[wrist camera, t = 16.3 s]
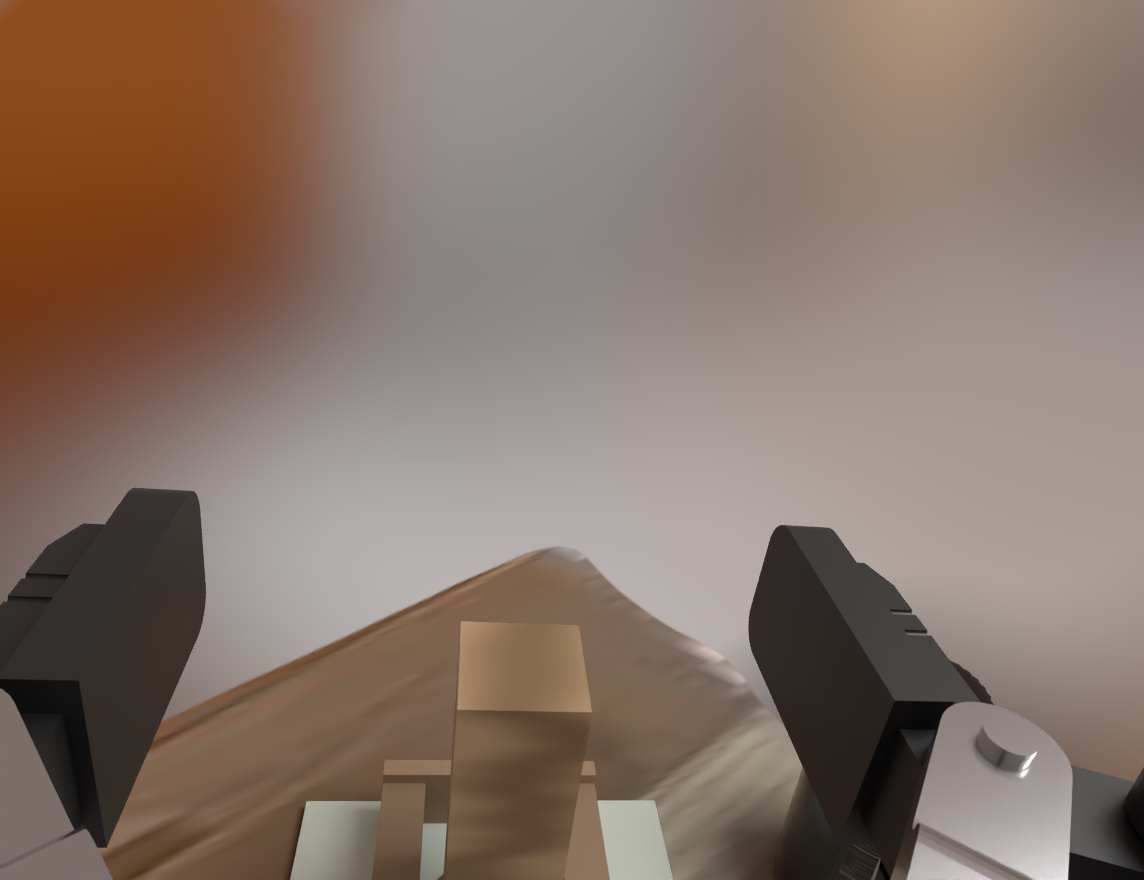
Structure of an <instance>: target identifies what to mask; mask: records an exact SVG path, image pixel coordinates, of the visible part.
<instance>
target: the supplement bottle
mask: <svg viewBox="0 0 1144 880" xmlns="http://www.w3.org/2000/svg"><path fill="white" fill-rule="evenodd" d="M950 662H951V663H952V664H953V666H954V667H955V669H956V670H957V671H958V673H959V674H960V675H961V677H962V678H963V679H964V681H965V682H966V683H967V685H968V686H969V687H970V689H971V690H972V691H973V693H974V694H975V695H976V697H977V698H978V699H979V701H980V702H981V703H986V704H991V705H994V704H993V703H992V701H991V696H990V695H989V694H988V693H987V692H986V689H985V687H984V686H982V685H981V684H980V683H979V681H978V679H976V678H975V677H973V676H972V675H971V674H970V672H968V671H967V670H965V669H963V668H962V667H961V666H960V665H958V664H956V663H954V662H952V661H950ZM879 859H880V857H879V855H878V853H877V850H876V848H875V846H874V844H852V845H837V842H836V840H835V838H834V836H833V833H832V831H831V829H830V827H829V824H828V822H827V820H826V818H825V815H824V813H823V811H822V809H821V806H820V804H819V802H818V800H817V797H816V795H815V793H814V791H813V788H812V786H811V784H810V782H809V779H808V777H807V775H806V773H805V770H804V768H802V771H801V774H800V777H799V780H798V783H797V786H796V789H795V792H794V795H793V798H792V801H791V804H790V807H789V810H788V813H787V816H786V819H785V822H784V826H783V829H782V832H781V835H780V839H779V842H778V846H777V850H776V857H775V867H776V875H777V880H871V878H872V875H873V873H874V871H875V869H876V866H877V864H878V862H879Z"/></svg>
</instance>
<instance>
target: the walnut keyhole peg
mask: <svg viewBox="0 0 1144 880" xmlns="http://www.w3.org/2000/svg"><path fill="white" fill-rule="evenodd" d="M591 714H592V710H591V704H590V697H589V690H588V683H587V677H586V670H585V663H584V657H583V650H582V643H581V636H580V630H579V625H553V624H523V623H492V622H461V629H460V644H459V658H458V672H457V686H456V701H455V715H454V729H453V744H452V758H451V772H450V787H449V801H448V815H447V830H446V844H445V858H444V873H443V875H441V876H440V877H439V878H438V879H437V880H564V875H565V869H566V863H567V857H568V851H569V845H570V839H571V833H572V827H573V821H574V815H575V809H576V803H577V797H578V792H579V786H580V780H581V774H582V768H583V762H584V756H585V750H586V744H587V738H588V732H589V726H590V720H591Z"/></svg>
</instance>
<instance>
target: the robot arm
mask: <svg viewBox="0 0 1144 880" xmlns="http://www.w3.org/2000/svg"><path fill="white" fill-rule="evenodd" d="M205 599H206V583H205V570H204V557H203V544H202V529H201V517H200V505H199V500H198V497H197V495H196V493H195V492H194V491H181V490H180V491H179V490H163V489H162V490H161V489H144V488H132V489H131V490H129V492H128V493H127V494H126V496H125V497H124V498H123V500H122V501H121V503H120V504H119V505H118V507H117V508H116V510H115V511H114V512H113V514H112V515H111V517H110V518H109V519H108V521H107V522H106V524H105V525H101V524H82V525H80V526H79V527H77V528H75V529H74V530H72V531H71V532H69V533H68V534H66V535H64V536H63V537H61V538H59V539H58V540H56V541H54V542H53V543H51V544H50V545H48V546H47V547H46V548H45V550H44V551H43V552H42V553H41V555H40V556H39V557H38V558H37V560H36V561H35V562H34V563H33V565H32V566H31V567H30V569H29V570H28V571H27V572H26V577H25V579H21V580H20V581H19V582H18V584H17V585H16V586H15V588H14V589H13V590H12V591H11V593H10V594H9V595H8V601H7V602H3V603H2V604H1V605H0V880H113V879H112V877H111V875H110V873H109V871H108V869H107V867H106V865H105V863H104V861H103V859H102V856H101V854H100V852H99V850H98V848H107V845H108V843H109V841H110V838H111V836H112V834H113V831H114V829H115V827H116V824H117V822H118V820H119V818H120V815H121V813H122V811H123V808H124V806H125V804H126V801H127V799H128V797H129V794H130V792H131V790H132V787H133V785H134V783H135V781H136V778H137V776H138V774H139V771H140V769H141V767H142V764H143V762H144V760H145V757H146V755H147V753H148V751H149V748H150V746H151V744H152V741H153V739H154V737H155V734H156V732H157V730H158V727H159V725H160V723H161V720H162V718H163V716H164V714H165V711H166V709H167V707H168V704H169V702H170V700H171V697H172V695H173V693H174V690H175V688H176V686H177V684H178V681H179V679H180V677H181V674H182V672H183V670H184V667H185V665H186V663H187V661H188V658H189V656H190V654H191V651H192V649H193V646H194V644H195V642H196V640H197V637H198V635H199V632H200V629H201V625H202V621H203V616H204V610H205ZM749 640H750V646H751V650H752V653H753V655H754V658H755V660H756V662H757V664H758V667H759V669H760V671H761V673H762V676H763V678H764V680H765V682H766V685H767V687H768V689H769V691H770V694H771V696H772V698H773V701H774V703H775V705H776V707H777V710H778V712H779V714H780V716H781V718H782V721H783V723H784V725H785V728H786V730H787V732H788V734H789V737H790V739H791V741H792V743H793V746H794V748H795V750H796V752H797V755H798V757H799V759H800V761H801V764H802V766H803V768H804V770H805V773H806V775H807V777H808V779H809V782H810V784H811V786H812V788H813V791H814V793H815V795H816V797H817V800H818V802H819V804H820V806H821V809H822V811H823V813H824V815H825V818H826V820H827V822H828V824H829V827H830V829H831V831H832V833H833V836H834V838H835V840H836V842H837V845H852V844H874V846H875V848H876V850H877V853H878V855H879V857H880V859H879V862H878V864H877V866H876V869H875V871H874V873H873V875H872V878H871V880H1144V768H1143V769H1142V771H1141V773H1140V775H1139V776H1138V778H1137V780H1136V781H1135V782H1132V781H1128V780H1125V779H1121V778H1117V777H1113V776H1109V775H1106V774H1102V773H1098V772H1094V771H1090V770H1087V769H1083V768H1079V767H1075V766H1072V765H1070V763H1069V760H1068V759H1067V757H1066V755H1065V753H1064V752H1063V751H1062V749H1061V748H1060V747H1059V745H1058V744H1057V743H1056V742H1055V741H1054V740H1053V739H1052V738H1051V737H1050V736H1049V735H1048V734H1046V733H1045V732H1044V731H1043V730H1042V729H1040V728H1039V727H1037V726H1036V725H1034V724H1033V723H1032V722H1030V721H1028V720H1027V719H1025V718H1023V717H1022V716H1020V715H1017V714H1016V713H1013V712H1011V711H1009V710H1006V709H1003V708H1001V707H998V706H995V705H991V704H986V703H981V702H980V701H979V699H978V698H977V697H976V695H975V694H974V693H973V691H972V690H971V689H970V687H969V686H968V685H967V683H966V682H965V681H964V679H963V678H962V677H961V675H960V674H959V673H958V671H957V670H956V669H955V667H954V666H953V664H952V663H951V662H950V660H949V659H948V658H947V656H946V655H945V654H944V652H943V651H942V650H941V648H940V647H939V646H938V644H937V643H936V642H935V640H934V639H933V638H932V636H927V629H926V628H925V627H924V626H923V624H922V623H921V621H920V620H919V619H918V618H917V616H916V615H912V609H911V608H910V607H909V605H908V604H907V603H906V602H905V600H904V599H903V597H902V596H901V595H900V593H899V592H898V590H897V589H896V588H895V587H894V585H892V584H891V583H890V582H889V581H887V580H886V579H885V578H883V577H882V576H881V575H879V574H878V573H877V572H875V571H874V570H873V569H871V568H870V567H869V566H868V565H866V564H865V563H857V562H856V561H855V560H854V558H853V557H852V555H851V554H850V552H849V551H848V550H847V548H846V547H845V546H844V544H843V543H842V541H841V540H840V539H839V537H838V536H837V535H836V533H835V532H834V531H833V530H832V529H830V528H823V527H805V526H786V525H780V526H778V527H777V528H776V529H775V530H774V532H773V534H772V536H771V538H770V542H769V545H768V549H767V552H766V556H765V559H764V563H763V566H762V570H761V573H760V577H759V581H758V584H757V588H756V591H755V595H754V598H753V603H752V606H751V609H750V615H749Z"/></svg>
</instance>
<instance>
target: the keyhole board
mask: <svg viewBox="0 0 1144 880" xmlns="http://www.w3.org/2000/svg"><path fill="white" fill-rule="evenodd" d="M450 772H451V760H385V765H384V774H383V788H382V797H381V801H307V803H306V807H305V812H304V817H303V821H302V826H301V831H300V836H299V840H298V845H297V850H296V854H295V859H294V864H293V869H292V873H291V878H290V880H437V879H438V878H439V877H440V876H441V875H443V873H444V858H445V844H446V830H447V815H448V801H449V787H450ZM595 779H596V772H595V766H594V761H584V762H583V768H582V774H581V780H580V786H579V792H578V797H577V803H576V809H575V815H574V821H573V827H572V833H571V839H570V845H569V851H568V857H567V863H566V869H565V875H564V880H673V878H672V873H671V869H670V865H669V860H668V856H667V852H666V847H665V843H664V839H663V834H662V830H661V826H660V822H659V817H658V813H657V809H656V804H655V801H597V795H596V789H595Z"/></svg>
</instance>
